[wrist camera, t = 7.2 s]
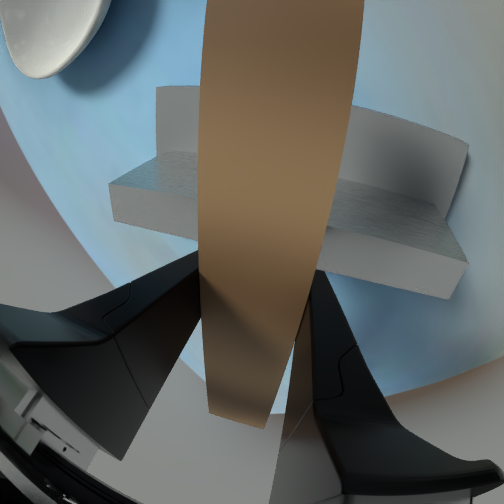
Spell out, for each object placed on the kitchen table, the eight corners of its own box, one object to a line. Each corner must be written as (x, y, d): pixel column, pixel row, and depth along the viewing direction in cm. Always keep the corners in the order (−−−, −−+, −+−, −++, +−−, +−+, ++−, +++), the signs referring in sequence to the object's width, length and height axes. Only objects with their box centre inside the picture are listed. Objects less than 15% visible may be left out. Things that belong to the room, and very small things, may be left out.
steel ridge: (434, 204, 14) (468, 263, 9) (423, 234, 15) (448, 299, 10) (169, 149, 17) (108, 183, 12) (170, 179, 18) (113, 220, 13)
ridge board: (461, 140, 12) (469, 144, 11) (410, 277, 18) (413, 288, 17) (166, 85, 16) (156, 87, 15) (169, 221, 21) (161, 229, 20)
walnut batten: (277, 384, 15) (263, 429, 13) (227, 370, 16) (209, 412, 14) (358, -5, 5) (366, -45, 3) (254, -16, 6) (213, -51, 3)
